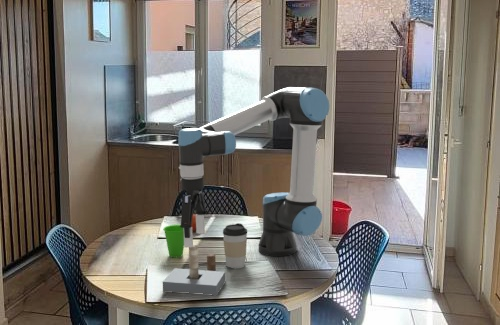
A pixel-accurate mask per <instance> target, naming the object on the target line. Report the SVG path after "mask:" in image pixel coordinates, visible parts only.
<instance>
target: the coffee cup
mask: <svg viewBox="0 0 500 325" xmlns="http://www.w3.org/2000/svg"><path fill="white" fill-rule="evenodd" d="M222 235H223V249H224V256H225V266H226V267H227V268H229V267H231V268H230V269H241V268H243V266H244V265H246V255H247V243H248V242H247V241H248V238H247V237H248V229H247V228H246V227H245V226H244V225H243V223H234V224H233V223H232V224H228V225H226V226H225V227H224V228H223V229H222ZM240 267H241V268H240ZM244 267H245V266H244Z"/></svg>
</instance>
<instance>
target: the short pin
mask: <svg viewBox="0 0 500 325" xmlns="http://www.w3.org/2000/svg"><path fill="white" fill-rule="evenodd" d="M216 264H217V263H216V254H213V253H211V254H210V253H209V254H207V255H206V271H217V270H216V269H217V268H216Z"/></svg>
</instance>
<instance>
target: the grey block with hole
mask: <svg viewBox="0 0 500 325" xmlns="http://www.w3.org/2000/svg"><path fill="white" fill-rule="evenodd" d="M198 271H199V280H198V279H190V274H189V268H176V267H174V268H173V270H172V271H171V272H170V273H169V274H168V275H167V276H166V277H165V278H164V279H163V281H162V292H163V291H172V292H189V293H203V294H212V295H217V296H218V294H219V293H218V291H219V290H220V291H221V289H222V288H223V286H224V285H225V283H226V271H217V270H216V271H207V269H206V270H203V269H198ZM224 282H225V283H224ZM222 285H223V286H222ZM221 287H222V288H221ZM220 288H221V289H220ZM220 291H219V292H220ZM172 292H171V293H172ZM217 293H218V294H217Z"/></svg>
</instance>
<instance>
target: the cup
mask: <svg viewBox="0 0 500 325" xmlns="http://www.w3.org/2000/svg"><path fill="white" fill-rule="evenodd" d="M180 225H181V224H171V225H166V226H164V227H163V231H164V236H165V240H166V246H167V250H168V251H167V252H168V255H169V257H171V258H181V257H183V254H184V248H185V247H184V232H183V228H180Z"/></svg>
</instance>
